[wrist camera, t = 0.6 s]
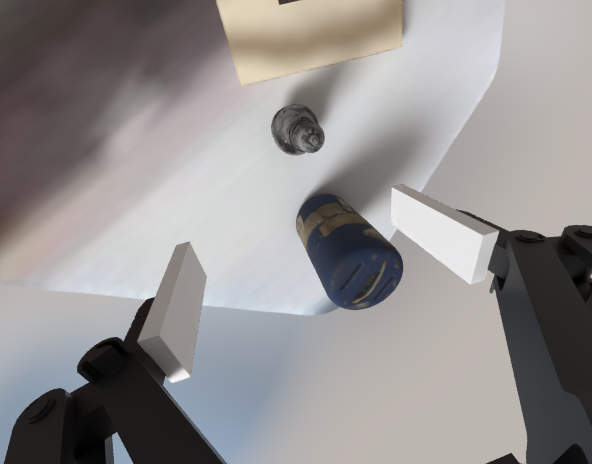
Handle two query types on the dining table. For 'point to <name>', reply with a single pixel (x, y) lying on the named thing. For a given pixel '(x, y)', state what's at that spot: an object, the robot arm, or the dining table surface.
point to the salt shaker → (297, 130)
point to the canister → (348, 253)
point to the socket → (306, 34)
